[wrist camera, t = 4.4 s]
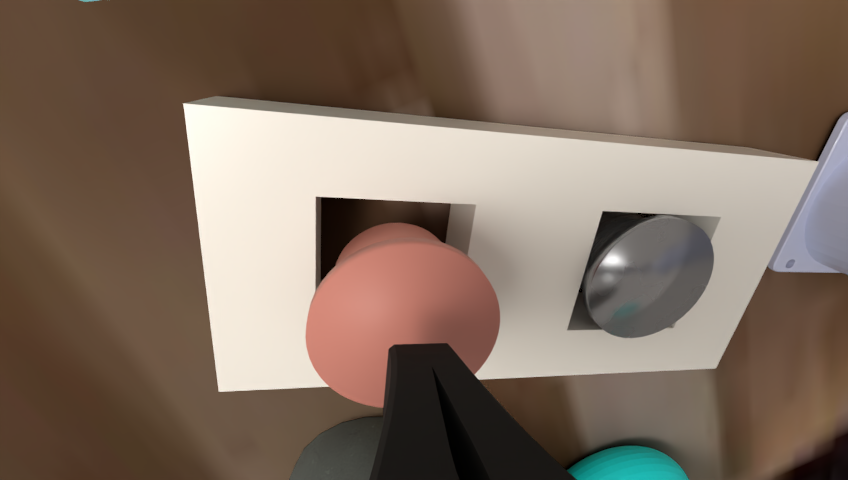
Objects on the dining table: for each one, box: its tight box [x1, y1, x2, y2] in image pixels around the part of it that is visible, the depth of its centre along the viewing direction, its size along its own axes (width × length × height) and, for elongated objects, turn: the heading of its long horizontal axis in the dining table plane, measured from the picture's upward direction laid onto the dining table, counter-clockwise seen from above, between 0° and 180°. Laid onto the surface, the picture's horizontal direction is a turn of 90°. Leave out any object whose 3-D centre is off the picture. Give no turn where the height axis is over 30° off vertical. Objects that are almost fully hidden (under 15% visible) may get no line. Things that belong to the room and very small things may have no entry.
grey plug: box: [580, 211, 714, 338], centre depth 16 cm, size 5×5×3 cm
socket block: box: [184, 96, 819, 392], centre depth 16 cm, size 22×10×3 cm, turn 83°
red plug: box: [305, 223, 500, 407], centre depth 12 cm, size 5×5×3 cm
